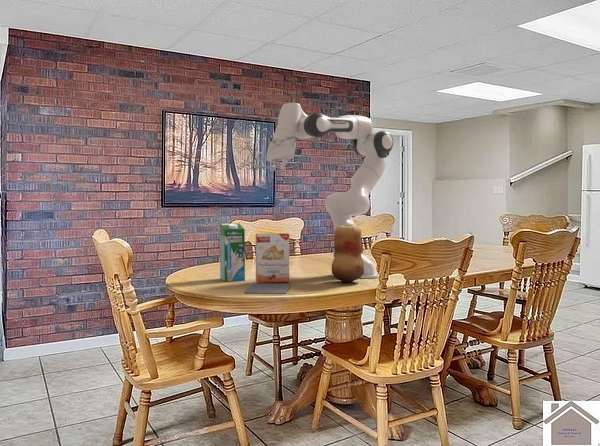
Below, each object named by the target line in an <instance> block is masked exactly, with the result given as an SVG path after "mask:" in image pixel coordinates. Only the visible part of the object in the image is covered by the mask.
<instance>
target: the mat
mask: <svg viewBox="0 0 600 446" xmlns="http://www.w3.org/2000/svg"><path fill="white" fill-rule="evenodd" d="M290 286H291V283H290V282H272V283H257V282H253V283H251V284H250V285H249V287H248V288H246V289H245V291H243V294H258V295H260V294H261V295H266V294H267V295H269V294H271V295H272V294H273V295H278V294H279V295H286V294H287V293H288V291H289V288H290Z"/></svg>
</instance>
